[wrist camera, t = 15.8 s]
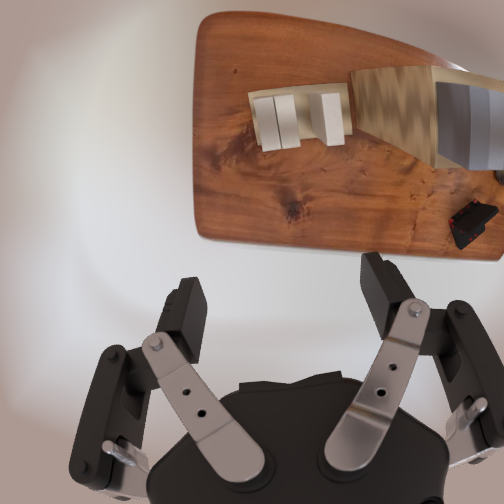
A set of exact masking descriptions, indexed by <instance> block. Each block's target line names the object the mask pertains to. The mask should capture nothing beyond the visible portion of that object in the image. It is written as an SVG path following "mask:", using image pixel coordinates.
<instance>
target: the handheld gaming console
mask: <svg viewBox="0 0 504 504" xmlns="http://www.w3.org/2000/svg"><path fill="white" fill-rule="evenodd" d="M498 212H499V210H498V208H497V207H496V206H492V205H487V204H481V203H480V202H479V201H477V200H476V199H475V200H474V201H471V202H470V203H469V204H468V205H467V206H465V207H464V208H463V209H462V210H460V211H459V212H458V213H457V214H455V215H454V216H453V217H452V219H451V220H449V224H450V227H451V230H452V233H453V236H454V239H455V242H456V245H457V247H458V248H459V249H460V250H462V249H463V248H464V247H466V246H467V245H468V244H469V243H471V242H472V241H473V240H474V239H476V238H477V237H478V236H479V235H480V234H481V233H483V232H484V231H485V225H484V224H486V223H487V222H488V221H489V220H490V219H491V218H492V217H494V216H495V215H496V214H497V213H498Z"/></svg>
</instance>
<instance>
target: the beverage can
mask: <svg viewBox="0 0 504 504" xmlns="http://www.w3.org/2000/svg"><path fill="white" fill-rule="evenodd" d="M496 176H497V180H498V182H499V184H500V185H502V186H504V170H496Z"/></svg>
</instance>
